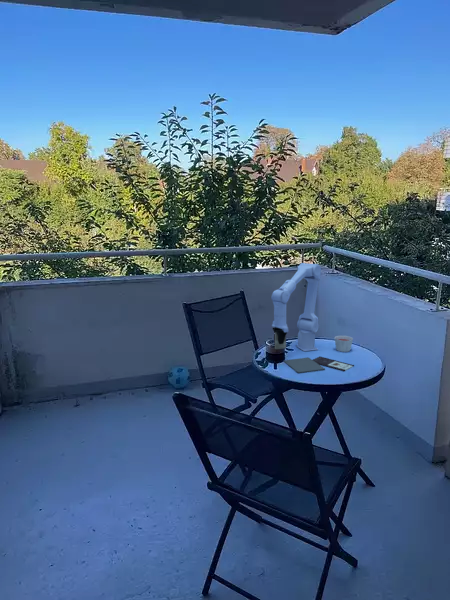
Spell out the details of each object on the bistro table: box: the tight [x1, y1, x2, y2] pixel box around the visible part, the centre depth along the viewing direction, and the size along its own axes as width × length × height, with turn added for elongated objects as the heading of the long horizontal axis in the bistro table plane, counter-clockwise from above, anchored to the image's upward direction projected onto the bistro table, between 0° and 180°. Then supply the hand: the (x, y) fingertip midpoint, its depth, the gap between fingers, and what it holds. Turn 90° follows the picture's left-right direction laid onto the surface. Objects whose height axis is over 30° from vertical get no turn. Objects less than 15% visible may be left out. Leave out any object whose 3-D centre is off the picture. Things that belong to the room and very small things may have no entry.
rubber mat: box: [283, 357, 326, 374], centre depth 192 cm, size 16×13×1 cm
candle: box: [334, 335, 354, 353], centre depth 212 cm, size 9×9×6 cm
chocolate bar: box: [312, 356, 355, 372], centre depth 193 cm, size 9×1×18 cm
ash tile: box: [274, 332, 287, 350], centre depth 198 cm, size 2×5×8 cm, turn 106°
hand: (280, 343), depth 199 cm, fingers closed on ash tile, 2 cm apart
